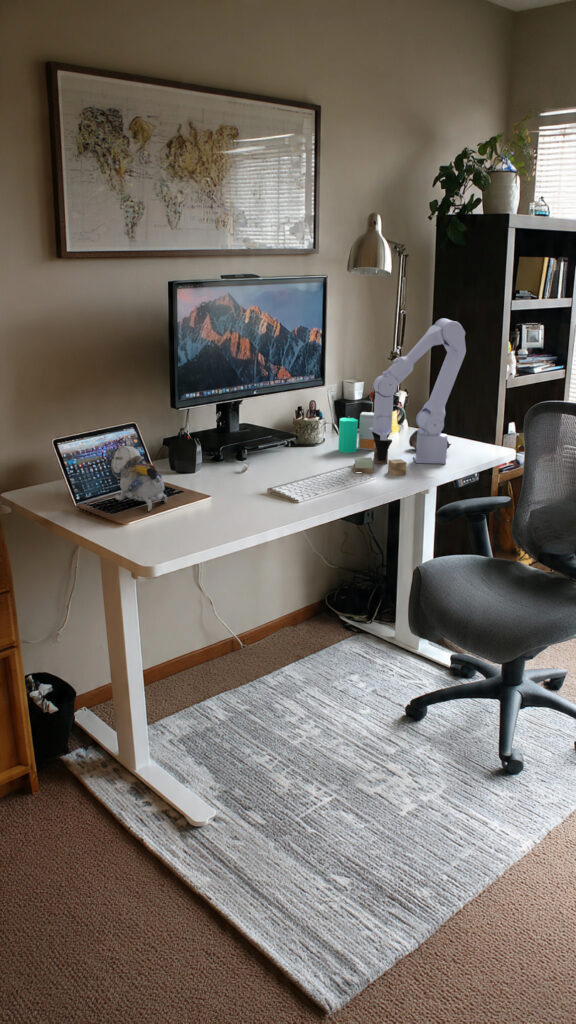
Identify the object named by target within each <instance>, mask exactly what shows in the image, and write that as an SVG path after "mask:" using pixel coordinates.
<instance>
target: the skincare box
mask: <svg viewBox="0 0 576 1024" xmlns="http://www.w3.org/2000/svg"><path fill="white" fill-rule="evenodd" d="M373 422H374V411H373V412H372V411H370V412H369V411H368V412H367V411H362V412H361V413H360V414H359V424H358V426H359V427H358V429H359V430H358V440H357V444H358V445H357V446H358V447H357V449H358V450H367V451H374V448H376V447H375V442H374V437H373V434H372V432H373V431H369V428H373Z"/></svg>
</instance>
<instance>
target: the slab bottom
mask: <svg viewBox="0 0 576 1024" xmlns="http://www.w3.org/2000/svg"><path fill="white" fill-rule="evenodd" d="M373 469H374V468H356V467H355V462H354V463H353V473H354V472H362V473H361V474H366V473H367V474H371V475H372V474H373V471H374V470H373Z"/></svg>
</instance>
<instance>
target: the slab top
mask: <svg viewBox="0 0 576 1024" xmlns="http://www.w3.org/2000/svg"><path fill="white" fill-rule="evenodd" d="M354 463H355V467H356V468H373V466H374V460H373V458H372V457H367V456H366V457H364V456H363V457H359V456H358V457H357V456H356V457H354ZM373 469H374V468H373Z"/></svg>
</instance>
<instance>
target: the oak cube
mask: <svg viewBox="0 0 576 1024" xmlns="http://www.w3.org/2000/svg"><path fill="white" fill-rule="evenodd" d="M407 463H408V462H407V461H405V460H403V459H402V458H395V459H388V462H387V464H388V465H387V466H388V467H387V473H388V474H390V475H391V476H393V477H400V476H406V475H407Z"/></svg>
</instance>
